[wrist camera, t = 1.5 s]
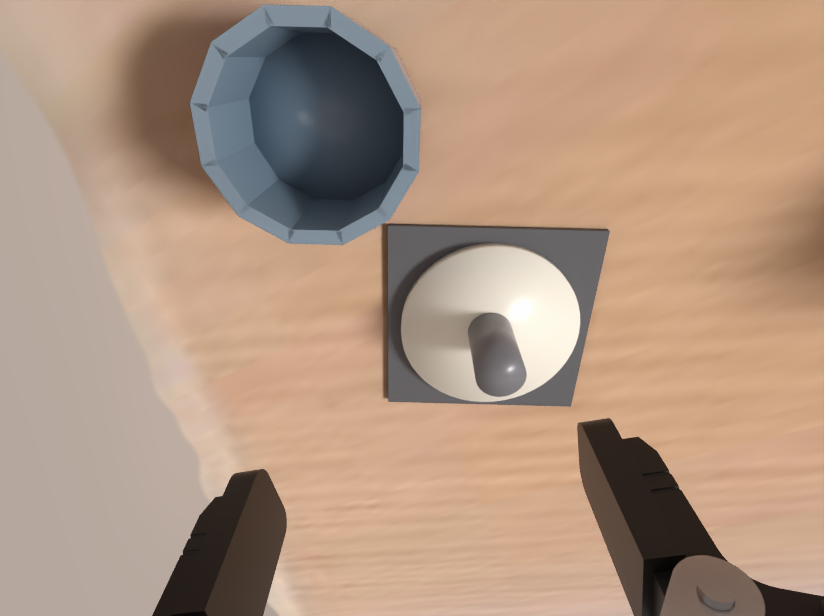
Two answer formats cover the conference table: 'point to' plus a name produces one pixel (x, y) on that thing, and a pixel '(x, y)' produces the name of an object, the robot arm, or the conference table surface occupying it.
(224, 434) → the conference table surface
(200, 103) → the bowl
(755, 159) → the conference table surface
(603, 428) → the robot arm
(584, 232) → the mat
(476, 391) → the lid
